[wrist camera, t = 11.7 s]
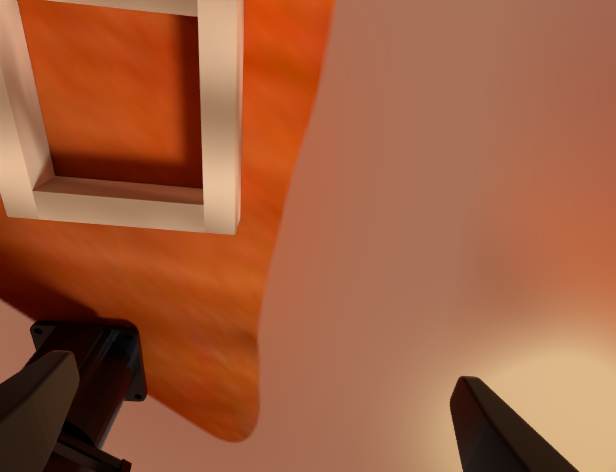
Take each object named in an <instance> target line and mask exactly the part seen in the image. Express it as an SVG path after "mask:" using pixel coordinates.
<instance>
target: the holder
mask: <svg viewBox="0 0 616 472" xmlns="http://www.w3.org/2000/svg"><path fill="white" fill-rule="evenodd" d="M49 1H58V2H67V3H76V4H85V5H95V6H104V7H113V8H122V9H131V10H140V11H149V12H158V13H168V14H177V15H186V16H195V17H198V37H199V69H200V102H201V134H202V167H203V189H201V188H190V187H178V186H166V185H155V184H143V183H132V182H120V181H108V180H97V179H85V178H74V177H62V176H55V173H54V168H53V163H52V159H51V154H50V150H49V145H48V140H47V136H46V131H45V127H44V122H43V118H42V113H41V108H40V104H39V99H38V95H37V90H36V85H35V81H34V76H33V72H32V67H31V63H30V58H29V53H28V49H27V44H26V40H25V35H24V30H23V26H22V21H21V17H20V12H19V8H18V3H17V0H0V193H1V196H2V200H3V203H4V207H5V210H6V213H7V217H17V218H30V219H42V220H55V221H67V222H80V223H92V224H104V225H117V226H129V227H142V228H154V229H167V230H179V231H192V232H204V233H216V234H229V235H235V232H236V229H237V226H238V223H239V220H240V203H241V147H242V90H243V34H244V0H49Z"/></svg>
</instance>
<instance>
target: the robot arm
mask: <svg viewBox="0 0 616 472" xmlns="http://www.w3.org/2000/svg"><path fill="white" fill-rule="evenodd" d="M30 332H31V335H32V338H33V342H34V345H35V348H36V352H35V353H34V354H33V356H32V357H31V358H30V359H29V361H28V362H27V363H26V364H25V366H24V367H23V368H22V370H21V371H19V372H18V373H16V374H15V375H13V376H12V377H10V378H9V379H7V380H6V381H4V382H2V383H1V384H0V472H130V469H131V463H130V462H128V461H126V460H125V459H122V460H120V459H118V458H116V457H114V456H112V455H110V454H108V453H106V452H104V451H102V450H101V448H102V447H103V444H104V442H105V440H106V438H107V436H108V434H109V432H110V429H111V427H112V425H113V423H114V421H115V419H116V416H117V414H118V412H119V410H120V408H121V406H122V404H123V402H124V401H138V402H140V401H144V399H145V398H146V396H147V386H146V379H145V372H144V365H143V357H142V350H141V343H140V336H139V332H138V330H137V329H135V328H133V327H126V326H111V325H96V324H81V323H66V322H51V321H36V322H35V323H34V324H33V325H32V326H31V328H30ZM128 334H130V335H132V336H130V335H128ZM450 411H451V415H452V420H453V425H454V430H455V435H456V440H457V445H458V450H459V455H460V459H461V464H462V469H463V472H579V471H578V470H577V469H576V468H575V467H574V466H573V465H572V464H570V463H569V462H568V461H567V460H566V459H565V458H564V457H563V456H562V455H561V454H560V453H559V452H558V451H557V450H555V449H554V448H553V447H552V446H551V445H550V444H549V443H548V442H547V441H546V440H545V439H544V438H543V437H542V436H541V435H539V434H538V433H537V432H536V431H535V430H534V429H533V428H532V427H531V426H530V425H529V424H528V423H527V422H526V421H524V420H523V419H522V418H521V417H520V416H519V415H518V414H517V413H516V412H515V411H514V410H513V409H512V408H510V406H508V405H507V404H506V403H505V402H504V401H503V400H502V399H501V398H500V397H499V396H498V395H497V394H496V393H494V392H493V391H492V390H491V389H490V388H489V387H488V386H487V385H486V384H485V383H484V382H483V381H482V380H481V379H479V378H477V377H473V376H461V377H459V379H458V381H457V383H456V386H455V388H454V391H453V393H452V396H451V399H450Z"/></svg>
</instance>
